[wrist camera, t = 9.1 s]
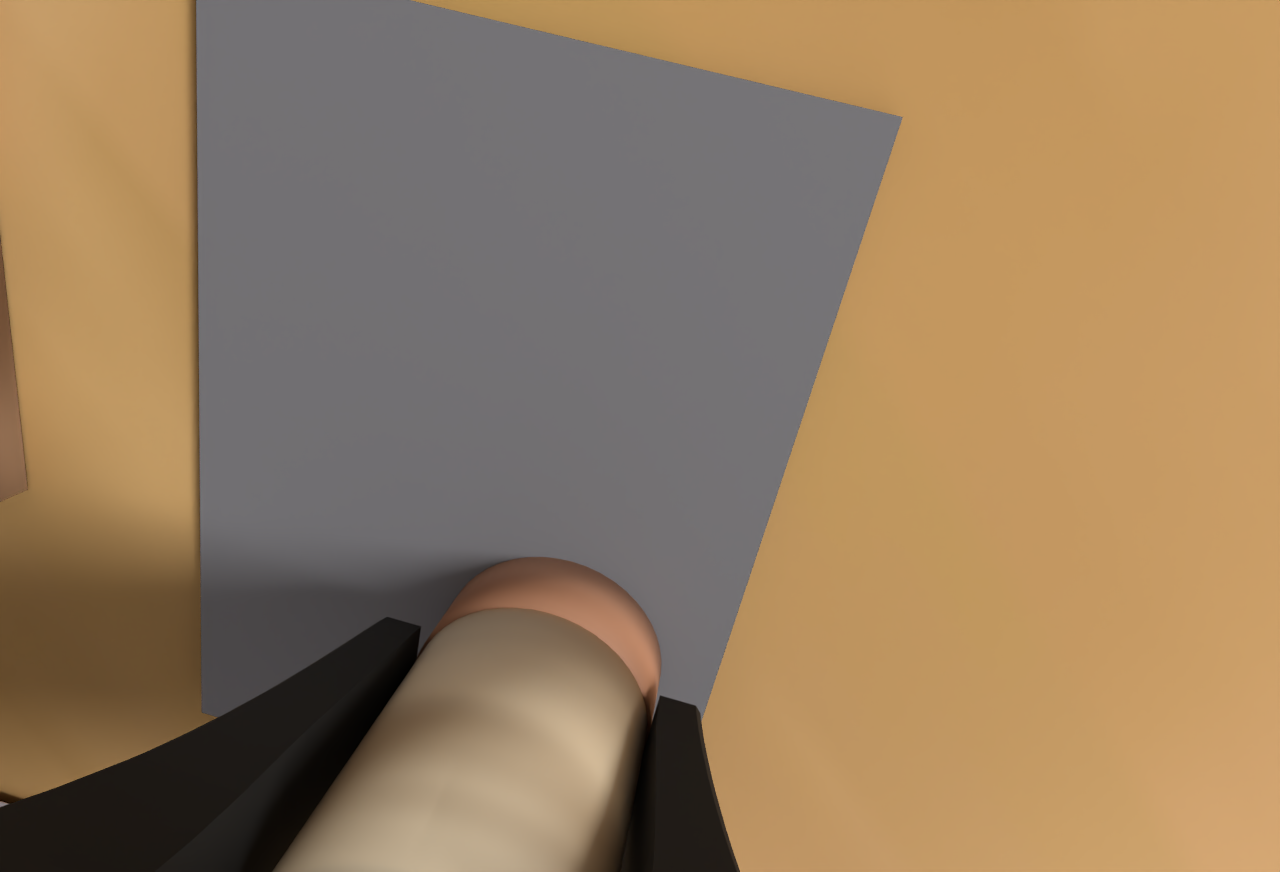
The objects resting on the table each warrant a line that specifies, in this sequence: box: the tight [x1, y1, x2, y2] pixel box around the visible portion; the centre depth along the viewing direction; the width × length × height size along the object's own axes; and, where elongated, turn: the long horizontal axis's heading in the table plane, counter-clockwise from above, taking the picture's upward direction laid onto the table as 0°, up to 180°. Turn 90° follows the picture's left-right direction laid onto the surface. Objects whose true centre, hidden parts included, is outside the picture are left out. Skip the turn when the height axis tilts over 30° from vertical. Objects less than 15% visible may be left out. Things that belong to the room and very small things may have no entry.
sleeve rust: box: [272, 557, 661, 872], centre depth 11 cm, size 4×4×6 cm
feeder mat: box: [196, 0, 902, 721], centre depth 13 cm, size 14×10×1 cm
